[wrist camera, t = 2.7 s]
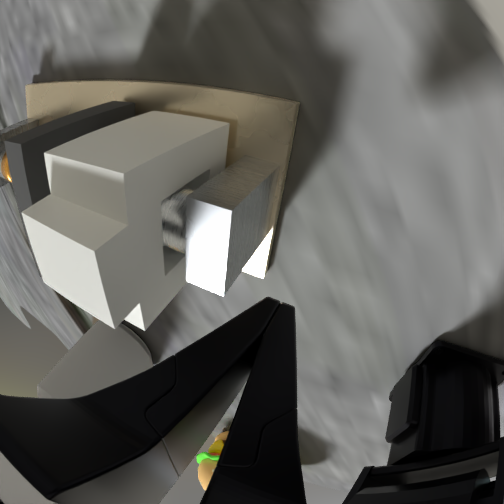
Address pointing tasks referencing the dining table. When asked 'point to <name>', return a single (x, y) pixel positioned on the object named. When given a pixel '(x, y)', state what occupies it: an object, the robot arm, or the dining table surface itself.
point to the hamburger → (210, 459)
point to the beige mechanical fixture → (214, 190)
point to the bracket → (121, 212)
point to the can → (97, 362)
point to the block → (46, 138)
